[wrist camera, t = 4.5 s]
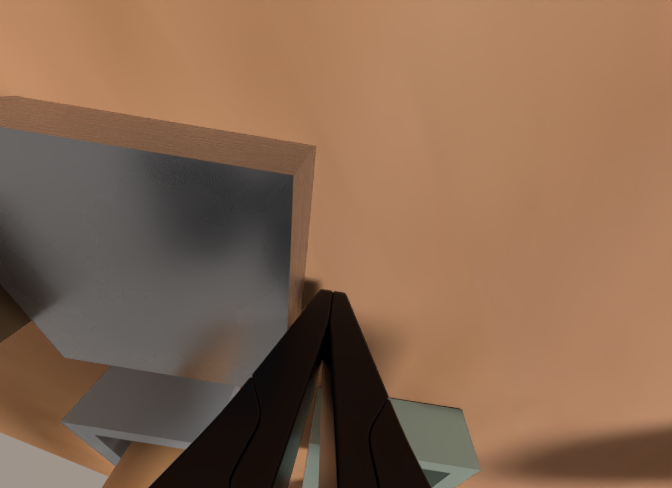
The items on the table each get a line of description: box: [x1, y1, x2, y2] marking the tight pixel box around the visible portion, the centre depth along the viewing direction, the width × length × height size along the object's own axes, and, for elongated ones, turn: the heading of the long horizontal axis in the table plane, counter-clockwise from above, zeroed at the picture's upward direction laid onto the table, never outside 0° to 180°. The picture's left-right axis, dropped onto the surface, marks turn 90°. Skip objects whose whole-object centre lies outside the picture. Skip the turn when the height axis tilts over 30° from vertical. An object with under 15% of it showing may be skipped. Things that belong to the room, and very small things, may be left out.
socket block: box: [61, 365, 240, 466], centre depth 14 cm, size 7×7×3 cm
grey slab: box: [0, 96, 316, 387], centre depth 8 cm, size 8×8×3 cm
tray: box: [302, 387, 481, 488], centre depth 14 cm, size 8×8×2 cm
